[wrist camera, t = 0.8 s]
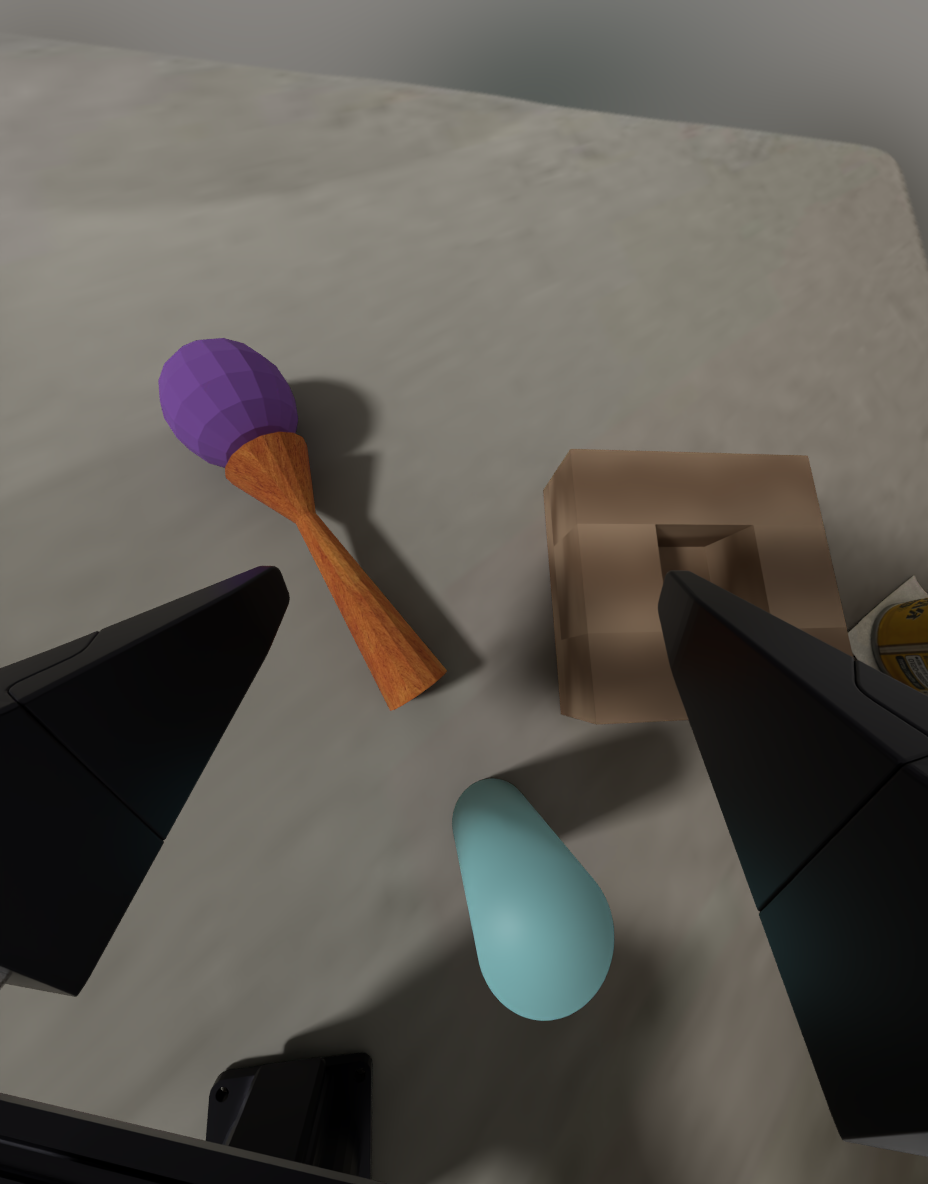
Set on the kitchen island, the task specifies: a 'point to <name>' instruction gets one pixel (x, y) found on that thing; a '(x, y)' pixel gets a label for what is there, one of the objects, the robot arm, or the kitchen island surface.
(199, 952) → the kitchen island surface
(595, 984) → the pin
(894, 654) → the condiment
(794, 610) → the hole block
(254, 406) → the wooden maraca
